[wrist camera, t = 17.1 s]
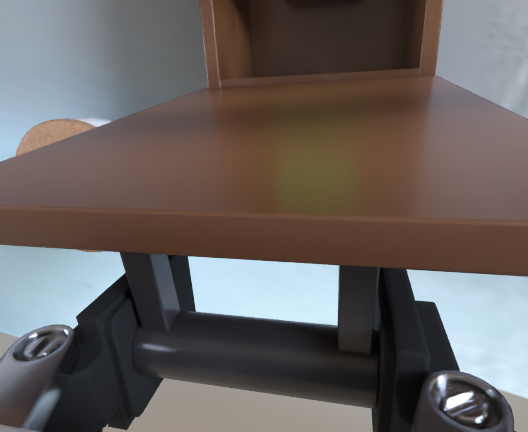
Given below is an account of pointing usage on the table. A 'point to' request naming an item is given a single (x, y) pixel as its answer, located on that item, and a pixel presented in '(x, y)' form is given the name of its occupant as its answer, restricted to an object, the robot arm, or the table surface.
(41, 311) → the table surface
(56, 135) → the trinket box
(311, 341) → the lid
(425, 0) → the chest
